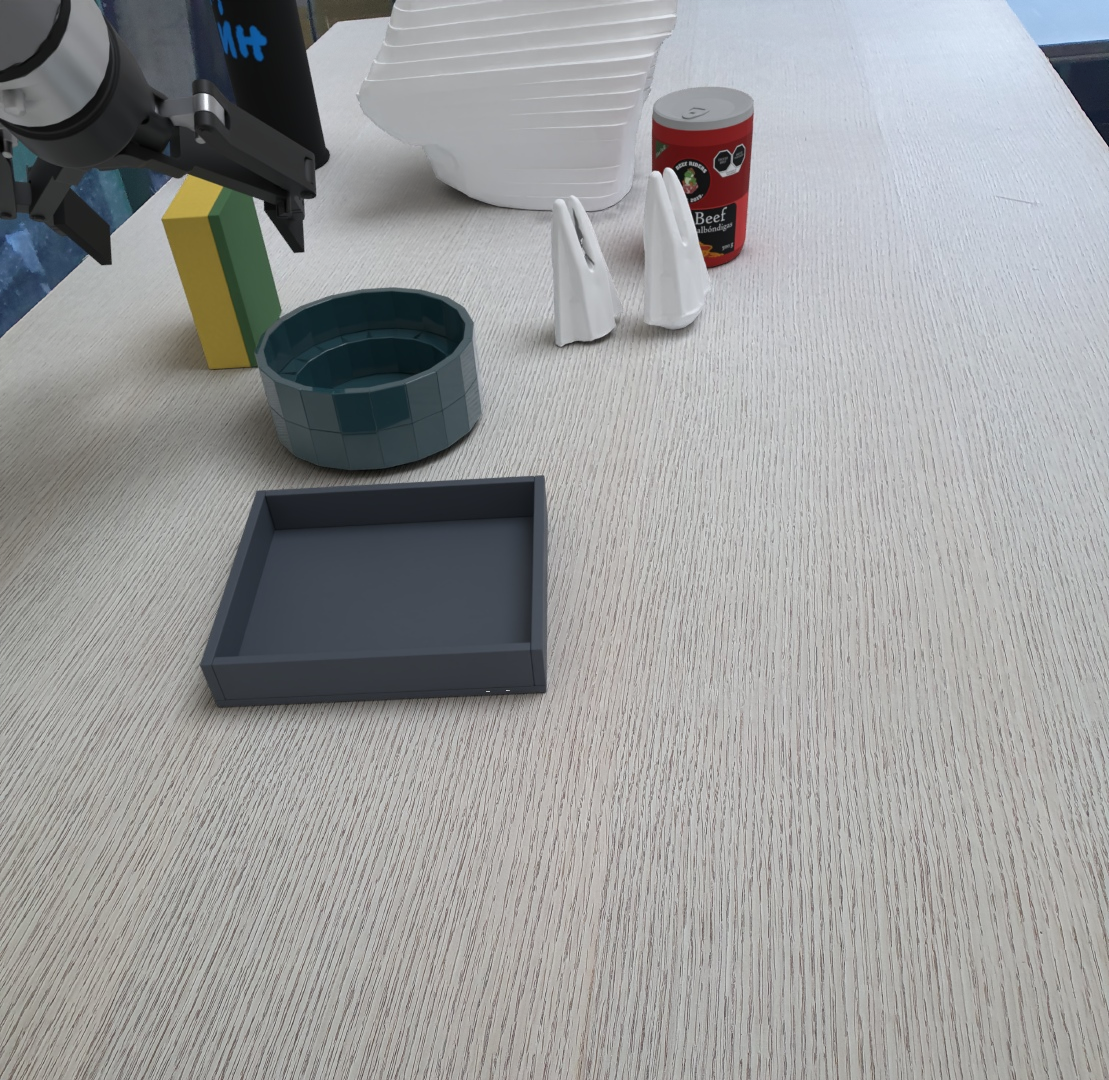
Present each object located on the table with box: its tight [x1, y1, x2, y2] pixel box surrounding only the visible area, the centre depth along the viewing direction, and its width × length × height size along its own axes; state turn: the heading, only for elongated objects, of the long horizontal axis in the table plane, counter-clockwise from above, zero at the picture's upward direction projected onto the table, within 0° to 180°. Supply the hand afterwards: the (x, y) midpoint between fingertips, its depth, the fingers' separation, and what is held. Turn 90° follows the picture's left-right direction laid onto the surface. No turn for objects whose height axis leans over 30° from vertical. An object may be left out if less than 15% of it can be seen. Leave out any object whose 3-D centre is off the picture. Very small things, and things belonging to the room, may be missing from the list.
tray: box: [199, 474, 549, 708], centre depth 60 cm, size 17×15×3 cm
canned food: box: [651, 86, 755, 269], centre depth 86 cm, size 8×8×11 cm
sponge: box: [161, 174, 283, 370], centre depth 80 cm, size 4×9×11 cm, turn 0°
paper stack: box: [355, 0, 678, 212], centre depth 94 cm, size 21×27×26 cm
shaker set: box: [550, 168, 713, 348], centre depth 77 cm, size 12×4×11 cm, turn 93°
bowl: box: [254, 286, 484, 471], centre depth 72 cm, size 14×14×6 cm
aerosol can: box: [209, 0, 331, 170], centre depth 103 cm, size 8×8×20 cm
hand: (201, 239), depth 75 cm, fingers open, 13 cm apart
